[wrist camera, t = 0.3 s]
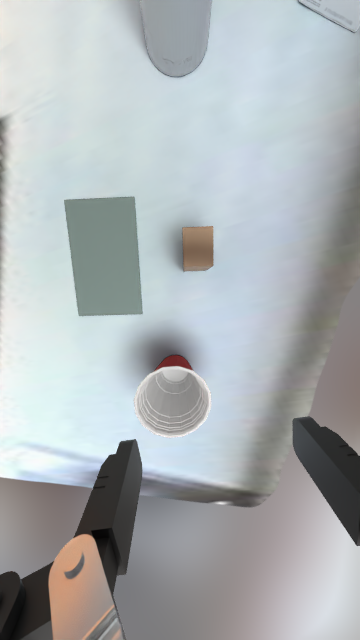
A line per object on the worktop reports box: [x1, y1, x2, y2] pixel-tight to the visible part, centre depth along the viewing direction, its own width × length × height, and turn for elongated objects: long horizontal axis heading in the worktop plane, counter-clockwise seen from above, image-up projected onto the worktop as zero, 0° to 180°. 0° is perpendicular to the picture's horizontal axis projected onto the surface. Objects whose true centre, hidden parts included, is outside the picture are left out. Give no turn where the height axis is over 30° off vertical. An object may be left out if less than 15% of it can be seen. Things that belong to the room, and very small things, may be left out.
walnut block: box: [182, 226, 213, 271], centre depth 31 cm, size 5×4×9 cm
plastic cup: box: [134, 355, 211, 438], centre depth 33 cm, size 11×11×12 cm
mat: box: [64, 197, 142, 316], centre depth 35 cm, size 20×12×1 cm, turn 2°
